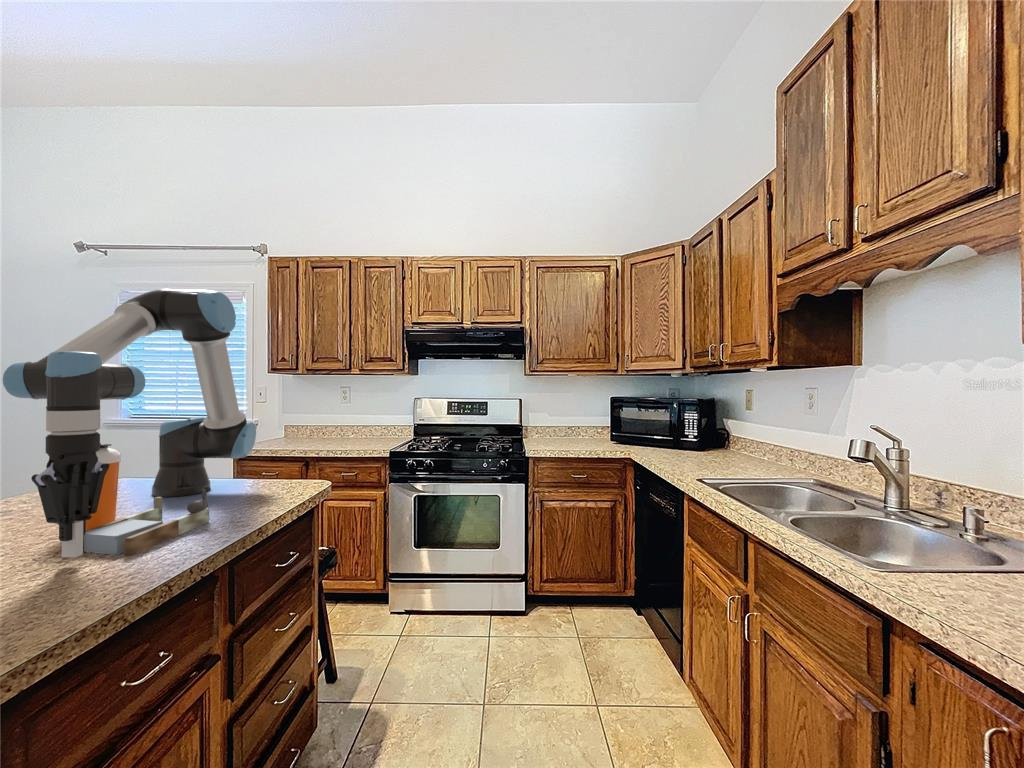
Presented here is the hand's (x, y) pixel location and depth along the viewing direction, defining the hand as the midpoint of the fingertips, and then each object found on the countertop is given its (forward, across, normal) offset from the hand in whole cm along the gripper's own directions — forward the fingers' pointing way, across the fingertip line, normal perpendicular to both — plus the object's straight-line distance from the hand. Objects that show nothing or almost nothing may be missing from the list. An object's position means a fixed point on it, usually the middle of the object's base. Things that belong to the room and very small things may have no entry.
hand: (72, 555), depth 87 cm
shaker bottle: (+2, -21, -16) cm, 27 cm away
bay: (+2, -16, 0) cm, 16 cm away
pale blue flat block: (+2, -11, 0) cm, 12 cm away
